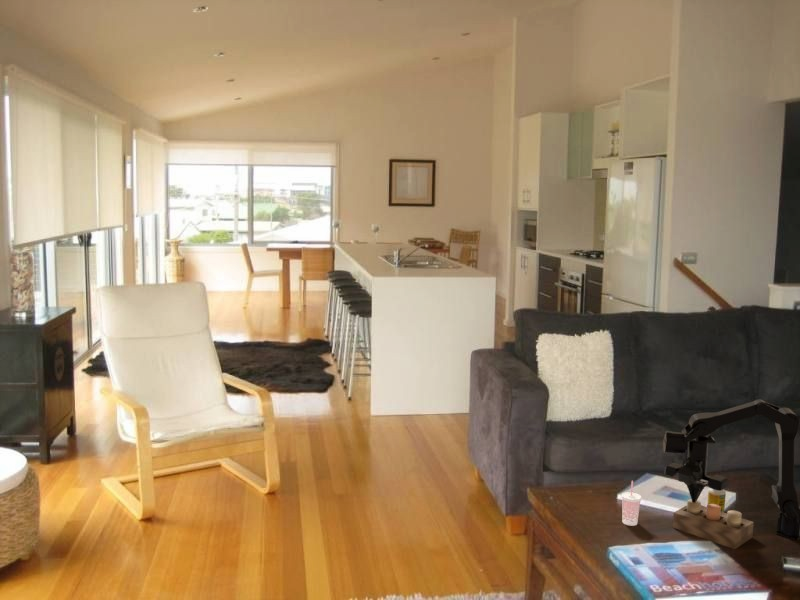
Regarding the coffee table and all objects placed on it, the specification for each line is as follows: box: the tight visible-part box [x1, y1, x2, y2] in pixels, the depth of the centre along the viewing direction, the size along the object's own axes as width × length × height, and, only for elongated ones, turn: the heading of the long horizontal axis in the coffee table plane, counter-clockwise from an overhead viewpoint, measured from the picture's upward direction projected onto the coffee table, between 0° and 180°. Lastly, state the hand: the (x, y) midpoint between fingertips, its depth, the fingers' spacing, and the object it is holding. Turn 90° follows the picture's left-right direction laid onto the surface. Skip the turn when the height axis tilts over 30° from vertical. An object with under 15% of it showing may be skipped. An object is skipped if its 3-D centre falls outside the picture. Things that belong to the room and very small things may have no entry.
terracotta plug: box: [706, 503, 721, 522], centre depth 250 cm, size 4×4×5 cm
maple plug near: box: [726, 509, 742, 529], centre depth 245 cm, size 4×4×5 cm
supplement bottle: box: [707, 487, 727, 513], centre depth 267 cm, size 5×5×10 cm
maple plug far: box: [686, 498, 702, 515], centre depth 255 cm, size 4×4×5 cm
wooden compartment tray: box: [672, 504, 754, 550], centre depth 250 cm, size 20×12×5 cm, turn 43°
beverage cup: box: [621, 480, 642, 527], centre depth 256 cm, size 6×6×14 cm
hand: (694, 502), depth 254 cm, fingers closed, pressing on maple plug far
